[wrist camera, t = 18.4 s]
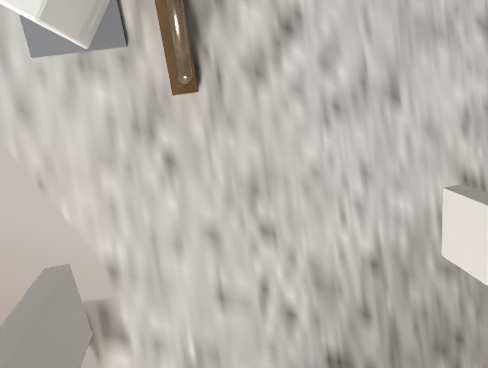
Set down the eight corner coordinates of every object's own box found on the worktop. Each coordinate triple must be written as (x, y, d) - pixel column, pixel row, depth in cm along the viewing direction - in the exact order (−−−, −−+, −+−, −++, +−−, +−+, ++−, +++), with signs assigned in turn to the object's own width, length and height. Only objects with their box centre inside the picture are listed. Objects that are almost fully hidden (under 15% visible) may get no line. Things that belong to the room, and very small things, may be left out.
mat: (106, -53, 37) (104, -56, 37) (127, 46, 40) (126, 45, 39) (4, -46, 36) (1, -48, 35) (33, 57, 38) (31, 57, 38)
